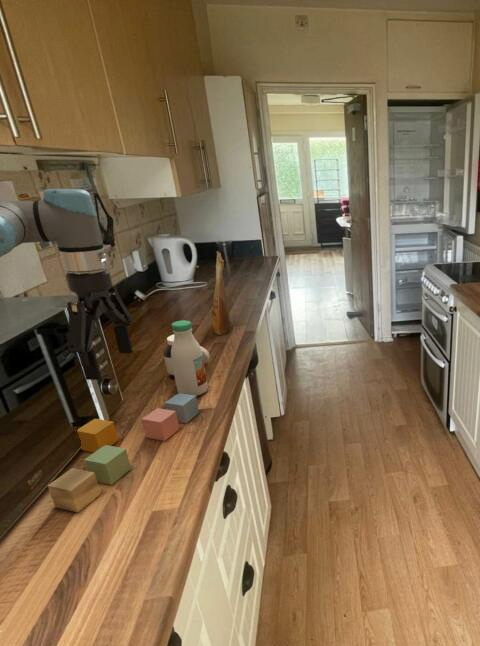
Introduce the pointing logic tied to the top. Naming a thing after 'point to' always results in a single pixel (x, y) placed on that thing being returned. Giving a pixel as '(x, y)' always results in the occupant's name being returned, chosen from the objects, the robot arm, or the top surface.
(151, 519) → the top surface
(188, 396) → the blue-grey block
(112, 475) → the sage block
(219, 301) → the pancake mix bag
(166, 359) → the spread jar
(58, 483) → the birch block
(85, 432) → the ochre block
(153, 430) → the dusty pink block
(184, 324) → the milk bottle
